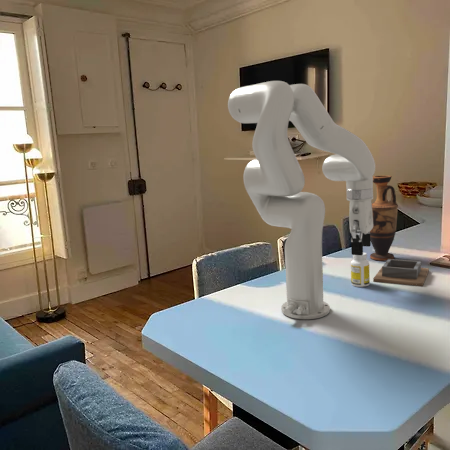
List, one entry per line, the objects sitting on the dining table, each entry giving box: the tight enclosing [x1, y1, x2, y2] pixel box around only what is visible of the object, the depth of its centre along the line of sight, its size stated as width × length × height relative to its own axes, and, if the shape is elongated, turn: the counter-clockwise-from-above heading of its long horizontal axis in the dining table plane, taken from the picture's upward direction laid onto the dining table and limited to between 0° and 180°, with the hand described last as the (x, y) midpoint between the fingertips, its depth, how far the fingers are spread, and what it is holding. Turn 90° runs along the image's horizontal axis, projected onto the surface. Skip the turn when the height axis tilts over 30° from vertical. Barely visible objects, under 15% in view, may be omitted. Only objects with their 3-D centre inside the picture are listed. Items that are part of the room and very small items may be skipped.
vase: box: [368, 174, 399, 262], centre depth 160 cm, size 11×11×30 cm
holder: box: [372, 258, 430, 287], centre depth 140 cm, size 16×14×4 cm
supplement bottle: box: [350, 251, 371, 288], centre depth 135 cm, size 5×5×10 cm
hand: (361, 250), depth 134 cm, fingers open, 9 cm apart
